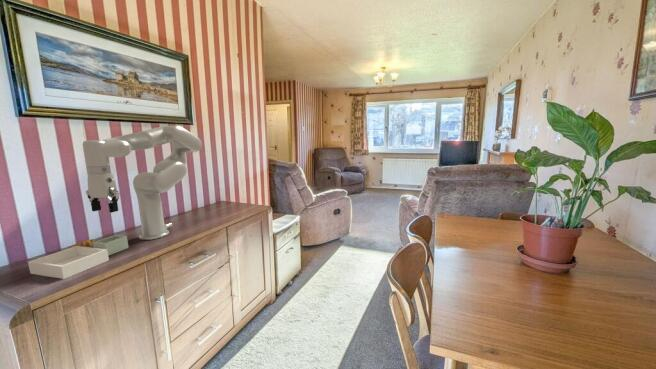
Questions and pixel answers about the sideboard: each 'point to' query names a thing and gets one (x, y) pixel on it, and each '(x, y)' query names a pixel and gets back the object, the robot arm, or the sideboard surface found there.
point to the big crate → (68, 262)
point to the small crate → (112, 244)
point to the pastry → (85, 244)
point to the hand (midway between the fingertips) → (105, 211)
